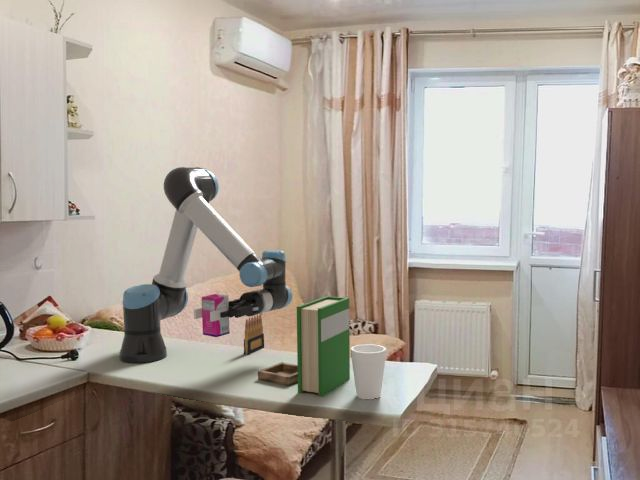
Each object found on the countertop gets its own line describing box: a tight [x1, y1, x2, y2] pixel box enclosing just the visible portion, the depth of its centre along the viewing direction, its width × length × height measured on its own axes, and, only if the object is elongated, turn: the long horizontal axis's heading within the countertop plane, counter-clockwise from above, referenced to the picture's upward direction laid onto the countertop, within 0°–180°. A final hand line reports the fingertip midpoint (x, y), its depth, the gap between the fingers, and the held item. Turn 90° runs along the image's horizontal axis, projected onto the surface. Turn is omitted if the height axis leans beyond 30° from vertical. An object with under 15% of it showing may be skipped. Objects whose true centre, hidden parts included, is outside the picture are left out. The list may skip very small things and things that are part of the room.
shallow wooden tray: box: [257, 361, 298, 387], centre depth 197 cm, size 11×11×2 cm
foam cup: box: [350, 343, 387, 400], centre depth 180 cm, size 10×9×13 cm
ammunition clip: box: [243, 314, 265, 356], centre depth 228 cm, size 11×2×12 cm, turn 155°
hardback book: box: [296, 295, 351, 398], centre depth 188 cm, size 18×7×24 cm, turn 152°
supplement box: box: [201, 293, 230, 338], centre depth 196 cm, size 6×6×12 cm
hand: (203, 315), depth 192 cm, fingers closed on supplement box, 6 cm apart
